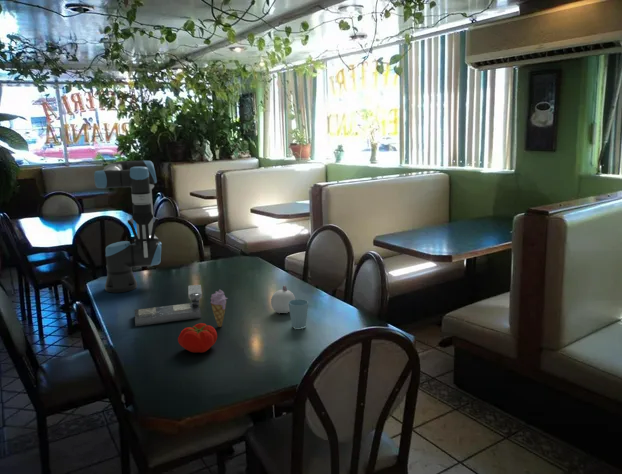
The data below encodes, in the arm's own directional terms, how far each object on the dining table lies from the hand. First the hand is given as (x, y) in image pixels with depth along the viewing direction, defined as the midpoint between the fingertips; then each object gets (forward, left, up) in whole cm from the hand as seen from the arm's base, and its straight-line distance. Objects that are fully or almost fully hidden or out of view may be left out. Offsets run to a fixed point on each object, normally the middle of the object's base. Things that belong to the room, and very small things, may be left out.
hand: (146, 256), depth 219 cm
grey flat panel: (+7, +19, -18) cm, 27 cm away
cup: (+46, +55, -24) cm, 75 cm away
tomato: (+54, +15, -24) cm, 61 cm away
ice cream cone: (+34, +26, -24) cm, 49 cm away
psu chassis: (+15, +7, -23) cm, 29 cm away
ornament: (+28, +54, -24) cm, 65 cm away
